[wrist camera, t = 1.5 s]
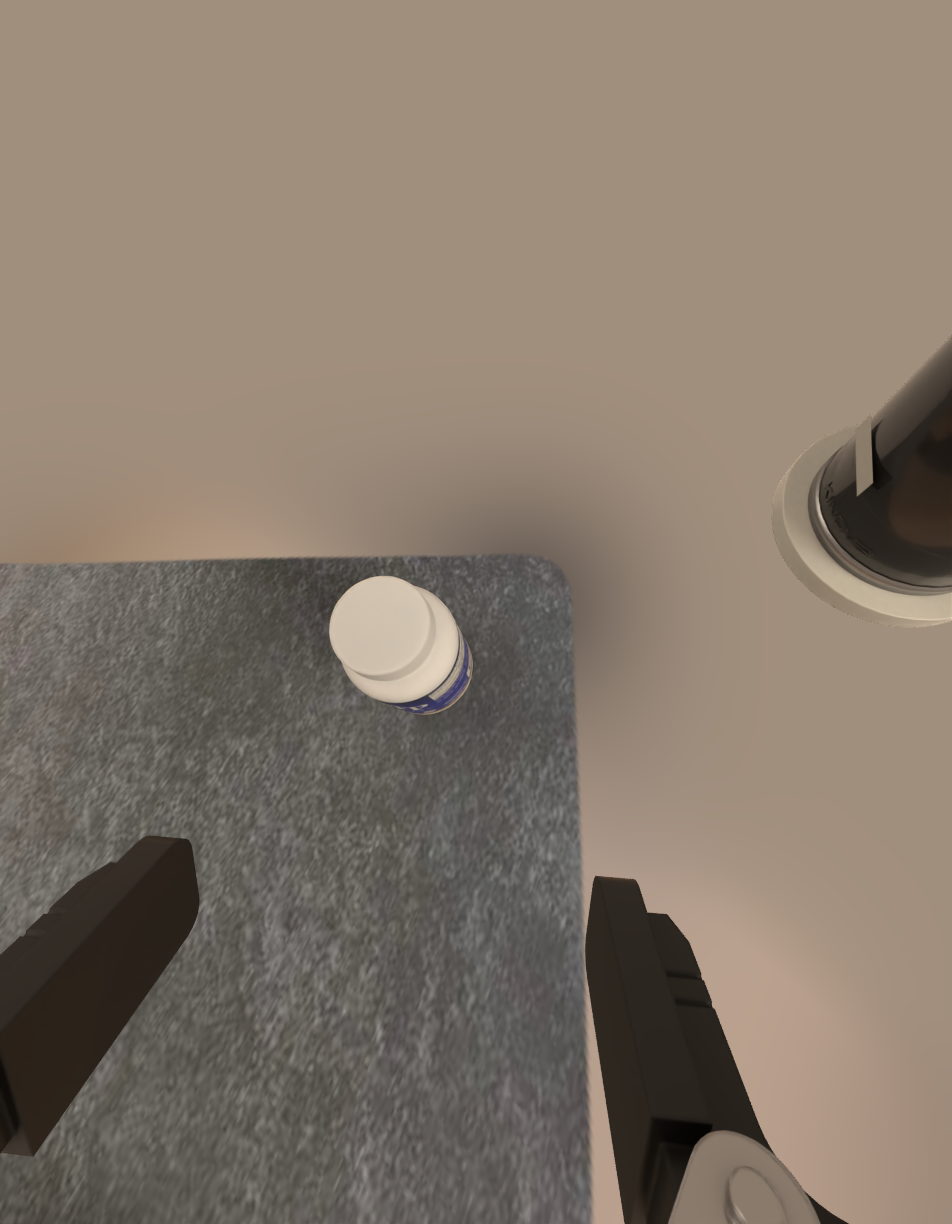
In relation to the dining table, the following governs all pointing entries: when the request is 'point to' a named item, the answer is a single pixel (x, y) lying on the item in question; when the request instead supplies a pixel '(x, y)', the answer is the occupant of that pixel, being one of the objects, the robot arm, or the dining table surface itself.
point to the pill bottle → (401, 645)
